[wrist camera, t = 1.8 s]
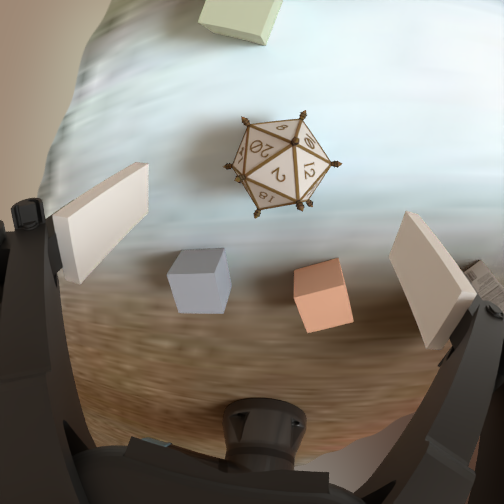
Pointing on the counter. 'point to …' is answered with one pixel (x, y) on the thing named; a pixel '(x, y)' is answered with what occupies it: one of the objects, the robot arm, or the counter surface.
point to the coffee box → (486, 284)
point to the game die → (280, 163)
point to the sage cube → (241, 18)
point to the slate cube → (200, 281)
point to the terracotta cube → (322, 296)
